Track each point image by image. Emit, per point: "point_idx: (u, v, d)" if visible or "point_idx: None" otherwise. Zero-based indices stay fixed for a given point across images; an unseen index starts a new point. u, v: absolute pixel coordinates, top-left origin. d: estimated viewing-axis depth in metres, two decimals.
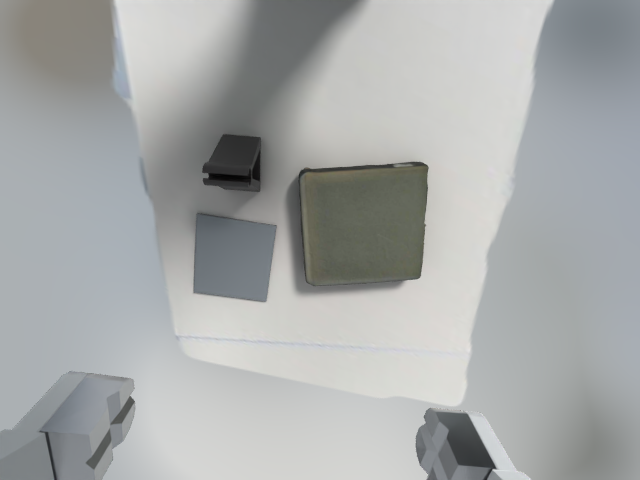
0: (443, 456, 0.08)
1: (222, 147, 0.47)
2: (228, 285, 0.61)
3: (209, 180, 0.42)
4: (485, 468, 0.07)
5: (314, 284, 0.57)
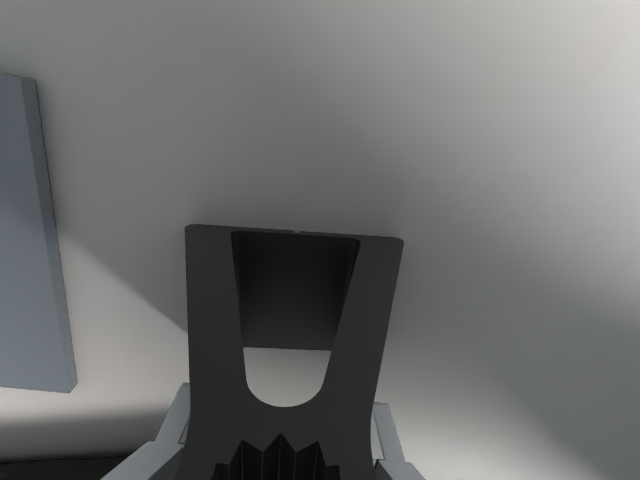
0: None
1: None
2: None
3: None
4: None
5: None
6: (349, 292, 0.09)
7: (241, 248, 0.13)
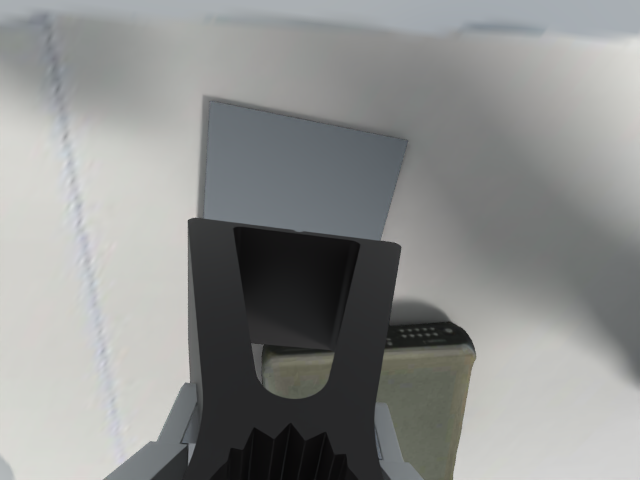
0: None
1: None
2: (235, 187, 0.27)
3: None
4: None
5: (265, 371, 0.30)
6: (350, 293, 0.09)
7: (242, 244, 0.13)
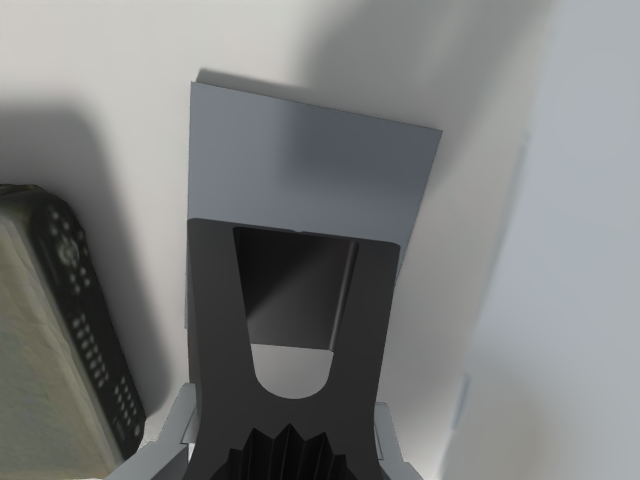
0: None
1: None
2: (324, 154, 0.18)
3: None
4: None
5: None
6: (350, 293, 0.09)
7: (241, 244, 0.13)
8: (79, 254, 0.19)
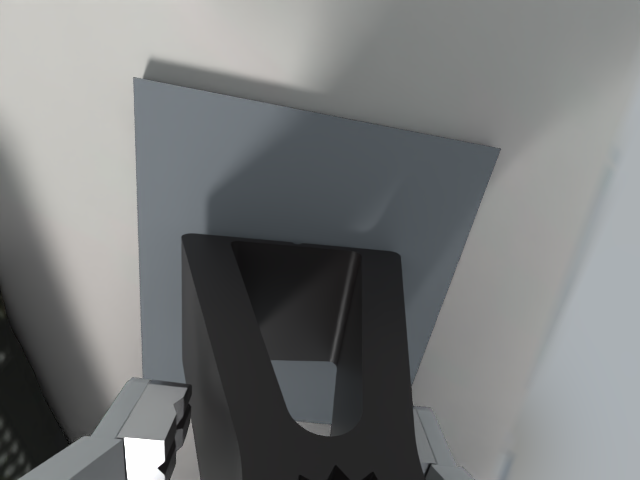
0: None
1: None
2: (331, 182, 0.13)
3: None
4: (425, 463, 0.07)
5: None
6: (363, 309, 0.09)
7: (239, 259, 0.13)
8: None
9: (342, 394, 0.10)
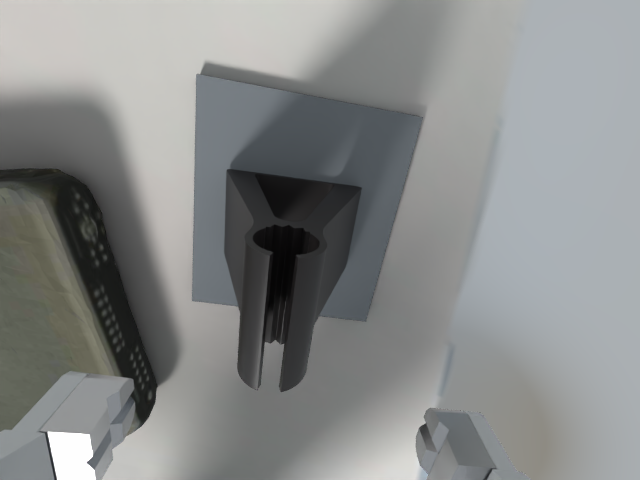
0: (443, 456, 0.08)
1: (344, 218, 0.17)
2: (317, 139, 0.20)
3: (264, 277, 0.10)
4: (485, 468, 0.07)
5: (12, 192, 0.17)
6: (323, 200, 0.17)
7: (260, 186, 0.21)
8: (97, 232, 0.21)
9: None
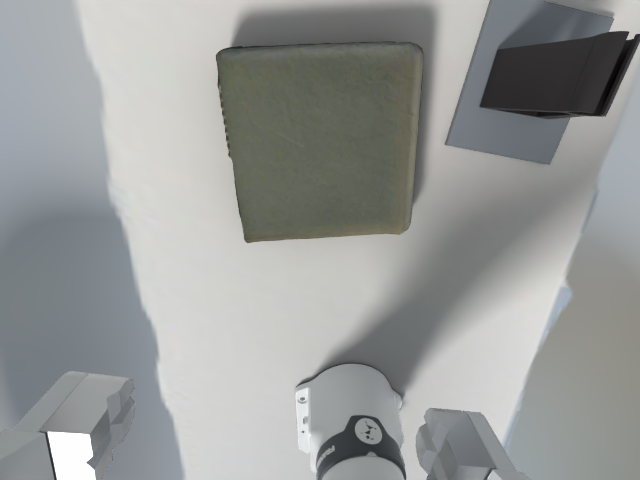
0: (443, 456, 0.08)
1: None
2: (551, 32, 0.35)
3: (622, 44, 0.25)
4: (485, 468, 0.07)
5: (411, 47, 0.31)
6: None
7: None
8: None
9: None
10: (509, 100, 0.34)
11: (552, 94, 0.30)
